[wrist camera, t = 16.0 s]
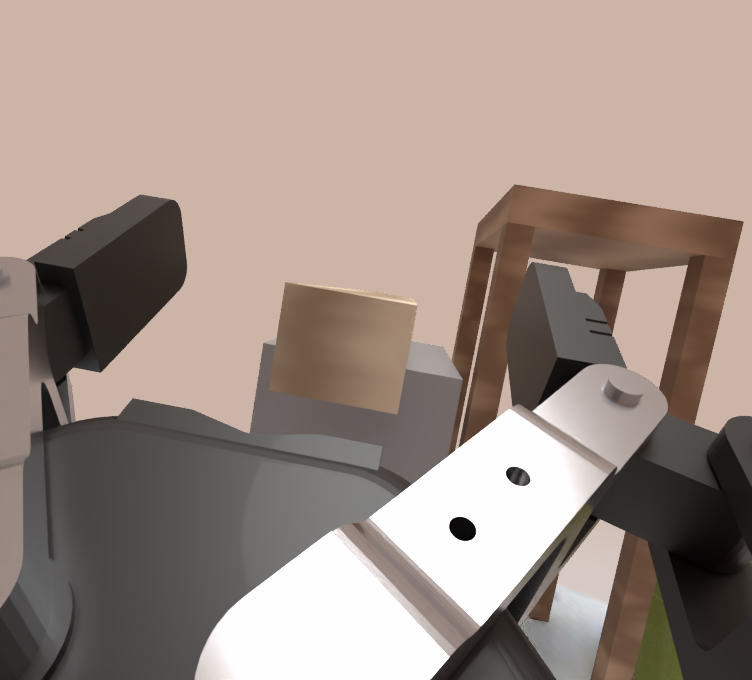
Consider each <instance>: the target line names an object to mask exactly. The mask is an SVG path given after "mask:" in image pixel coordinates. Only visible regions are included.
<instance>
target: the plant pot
mask: <svg viewBox="0 0 752 680" xmlns="http://www.w3.org/2000/svg"><path fill="white" fill-rule="evenodd" d="M750 564H751V566H752V561H751V562H750ZM634 680H683V676H682V672H681V669H680V665H679V661H678V657H677V653H676V650H675V646H674V642H673V638H672V634H671V630H670V627H669V623H668V619H667V615H666V611H665V607H664V604H663V600H662V596H661V592H660V588H659V585H658V581H657V580H656V584H655V588H654V592H653V596H652V600H651V604H650V608H649V613H648V617H647V621H646V625H645V629H644V633H643V637H642V641H641V645H640V649H639V654H638V658H637V662H636V666H635V671H634Z"/></svg>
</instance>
